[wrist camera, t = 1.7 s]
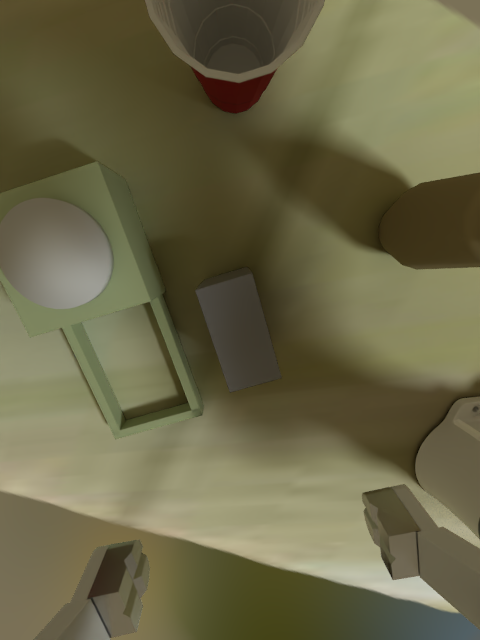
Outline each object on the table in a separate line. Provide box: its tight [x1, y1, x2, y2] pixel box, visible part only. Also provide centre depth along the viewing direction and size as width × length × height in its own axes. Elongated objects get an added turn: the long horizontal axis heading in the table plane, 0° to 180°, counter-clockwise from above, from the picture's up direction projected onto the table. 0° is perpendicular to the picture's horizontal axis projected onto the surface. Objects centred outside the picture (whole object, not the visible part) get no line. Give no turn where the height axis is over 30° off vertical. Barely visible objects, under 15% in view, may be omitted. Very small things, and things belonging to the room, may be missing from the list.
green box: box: [0, 161, 204, 439], centre depth 29 cm, size 12×27×7 cm, turn 16°
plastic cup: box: [145, 0, 325, 113], centre depth 21 cm, size 11×11×12 cm
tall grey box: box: [195, 267, 282, 392], centre depth 29 cm, size 5×10×8 cm, turn 16°
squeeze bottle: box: [379, 173, 480, 269], centre depth 22 cm, size 8×8×18 cm
